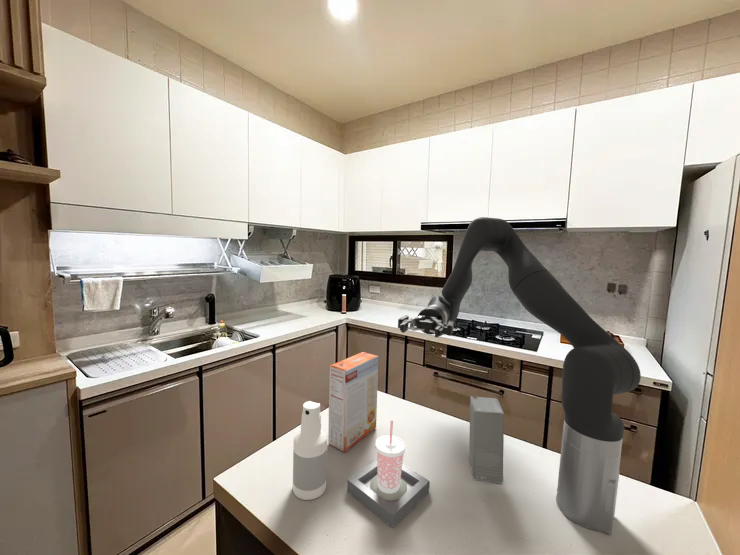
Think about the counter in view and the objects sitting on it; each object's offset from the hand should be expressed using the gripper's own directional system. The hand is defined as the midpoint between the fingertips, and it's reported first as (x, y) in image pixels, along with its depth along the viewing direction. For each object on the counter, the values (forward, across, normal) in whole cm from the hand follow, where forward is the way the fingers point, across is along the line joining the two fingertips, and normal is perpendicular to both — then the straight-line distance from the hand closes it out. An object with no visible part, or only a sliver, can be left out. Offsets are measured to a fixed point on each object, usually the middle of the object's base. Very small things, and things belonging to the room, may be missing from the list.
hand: (419, 330), depth 77 cm
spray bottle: (+23, -16, +30) cm, 41 cm away
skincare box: (+1, +17, +30) cm, 35 cm away
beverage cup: (+17, -1, +29) cm, 33 cm away
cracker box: (+3, -16, +30) cm, 34 cm away
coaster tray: (+17, 0, +30) cm, 35 cm away
